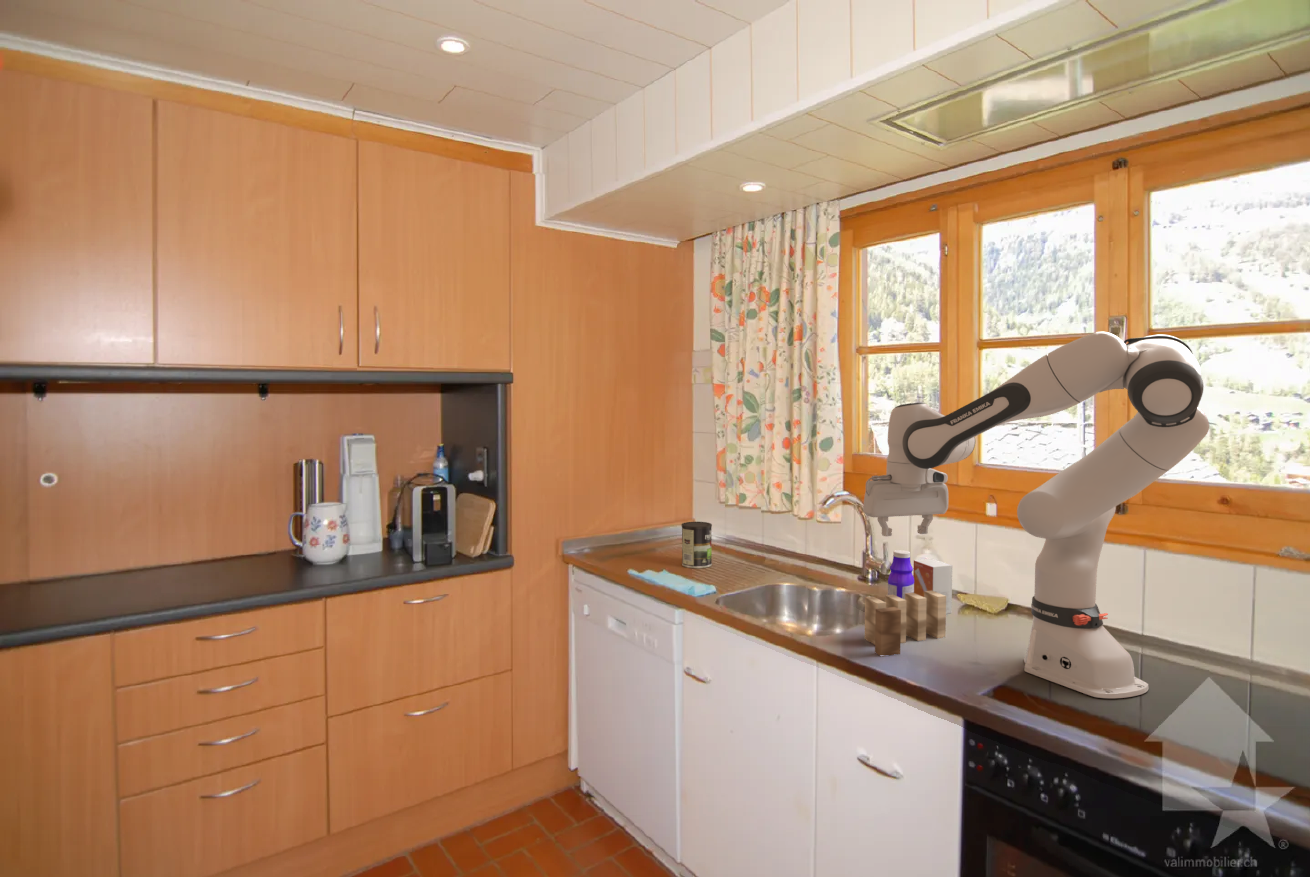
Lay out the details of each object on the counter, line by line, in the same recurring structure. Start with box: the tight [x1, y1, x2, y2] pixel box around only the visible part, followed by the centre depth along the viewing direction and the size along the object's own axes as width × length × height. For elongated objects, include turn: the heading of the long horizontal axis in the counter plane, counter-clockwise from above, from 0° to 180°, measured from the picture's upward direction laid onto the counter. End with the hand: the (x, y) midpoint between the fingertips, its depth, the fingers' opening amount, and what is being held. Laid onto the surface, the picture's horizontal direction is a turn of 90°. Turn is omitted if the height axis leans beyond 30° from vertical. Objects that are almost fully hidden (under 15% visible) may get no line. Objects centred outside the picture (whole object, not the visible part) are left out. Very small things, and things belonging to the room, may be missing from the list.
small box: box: [912, 558, 953, 615], centre depth 185 cm, size 8×6×13 cm
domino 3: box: [874, 607, 902, 656], centre depth 154 cm, size 5×2×10 cm, turn 107°
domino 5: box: [924, 591, 947, 639], centre depth 166 cm, size 5×2×10 cm, turn 17°
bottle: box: [887, 549, 914, 600], centre depth 178 cm, size 7×6×17 cm
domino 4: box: [905, 593, 927, 642], centre depth 165 cm, size 5×2×10 cm, turn 17°
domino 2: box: [884, 594, 907, 644], centre depth 163 cm, size 5×2×10 cm, turn 17°
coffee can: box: [681, 521, 713, 569], centre depth 236 cm, size 10×10×14 cm
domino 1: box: [864, 596, 886, 646], centre depth 161 cm, size 5×2×10 cm, turn 17°
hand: (904, 534), depth 158 cm, fingers open, 8 cm apart
